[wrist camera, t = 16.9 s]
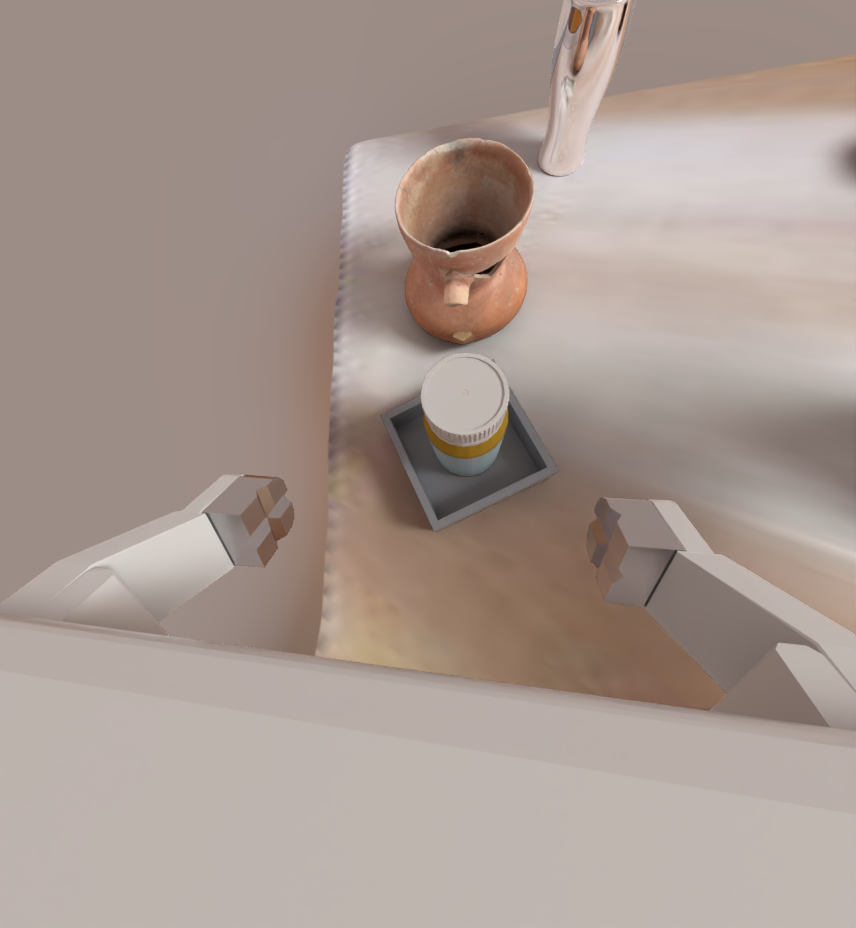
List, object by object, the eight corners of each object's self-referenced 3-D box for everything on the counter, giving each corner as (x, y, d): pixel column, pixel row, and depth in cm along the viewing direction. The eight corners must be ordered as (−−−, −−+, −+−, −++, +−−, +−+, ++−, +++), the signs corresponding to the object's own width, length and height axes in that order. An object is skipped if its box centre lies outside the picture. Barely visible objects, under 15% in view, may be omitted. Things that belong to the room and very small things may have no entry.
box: (548, 478, 36) (559, 470, 32) (438, 531, 37) (433, 531, 32) (490, 378, 40) (493, 359, 35) (389, 428, 40) (380, 415, 36)
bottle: (505, 469, 36) (529, 426, 22) (444, 484, 37) (426, 453, 22) (488, 411, 38) (500, 335, 23) (429, 427, 38) (405, 362, 24)
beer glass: (574, 131, 46) (623, -58, 31) (596, 166, 44) (659, -15, 29) (526, 150, 46) (552, -27, 31) (546, 186, 44) (584, 17, 30)
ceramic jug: (518, 365, 40) (543, 277, 26) (401, 359, 42) (367, 274, 28) (527, 239, 43) (555, 102, 29) (419, 240, 45) (397, 111, 31)
